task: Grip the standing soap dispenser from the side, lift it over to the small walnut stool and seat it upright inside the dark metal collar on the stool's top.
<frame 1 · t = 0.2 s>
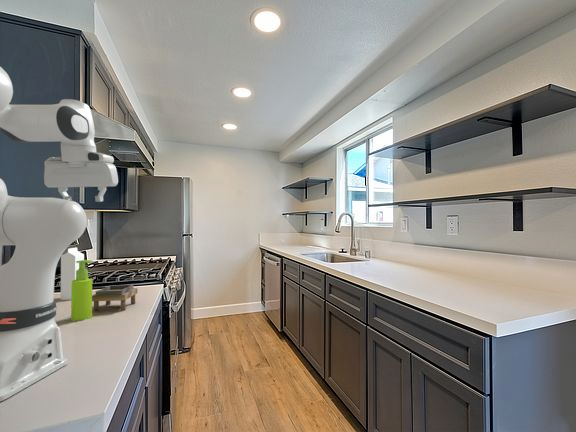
hand: (83, 201, 90), 40 cm above the counter, tool pointing down, fingers open, 8 cm apart
stool: (115, 307, 113), on the counter
soap dispenser: (83, 318, 101), on the counter
milk: (72, 298, 128), on the counter
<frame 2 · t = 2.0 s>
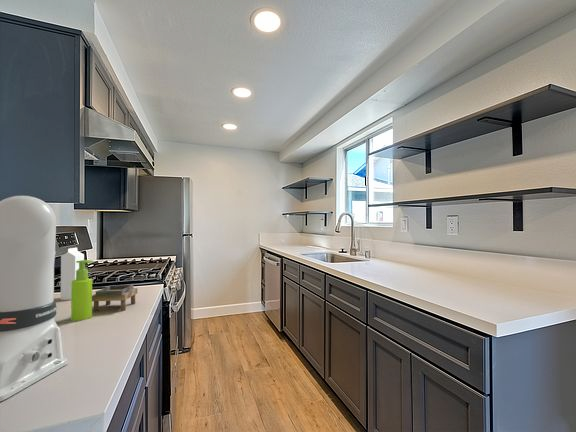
hand: (44, 254, 100), 22 cm above the counter, tool horizontal, fingers open, 8 cm apart
nothing on the counter moved.
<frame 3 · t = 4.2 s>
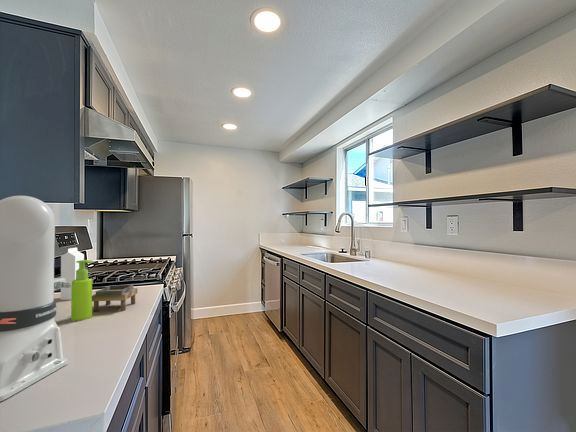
hand: (61, 287, 101), 11 cm above the counter, tool horizontal, fingers open, 8 cm apart
nothing on the counter moved.
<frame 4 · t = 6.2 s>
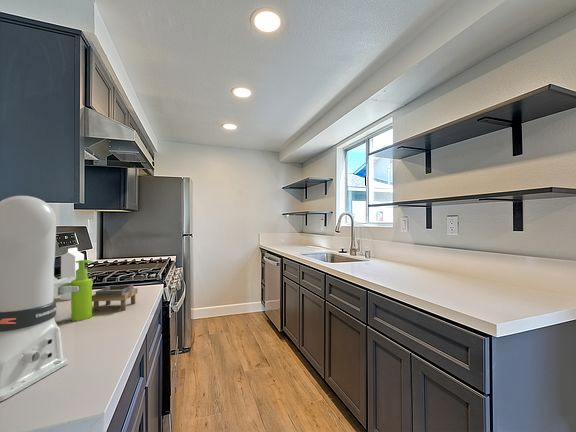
hand: (85, 286, 101), 11 cm above the counter, tool horizontal, fingers closed on soap dispenser, 6 cm apart
soap dispenser: (83, 318, 101), on the counter, touching gripper
everything else where it was.
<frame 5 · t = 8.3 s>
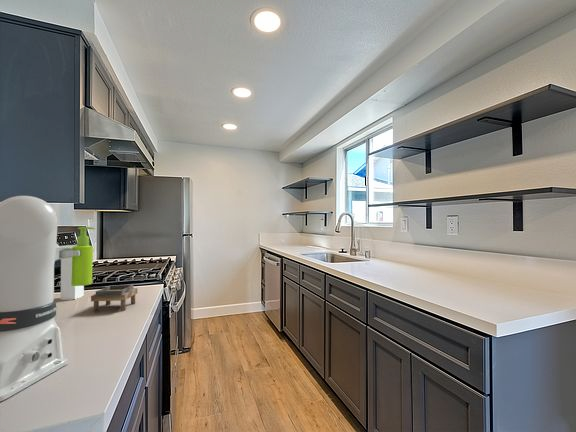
hand: (86, 252, 102), 23 cm above the counter, tool horizontal, fingers closed on soap dispenser, 6 cm apart
soap dispenser: (83, 285, 101), point 11 cm above the counter, touching gripper
everything else where it was.
when the fingers open (18 cm above the counter, at t = 10.8 s): soap dispenser stays where it is, resting on stool.
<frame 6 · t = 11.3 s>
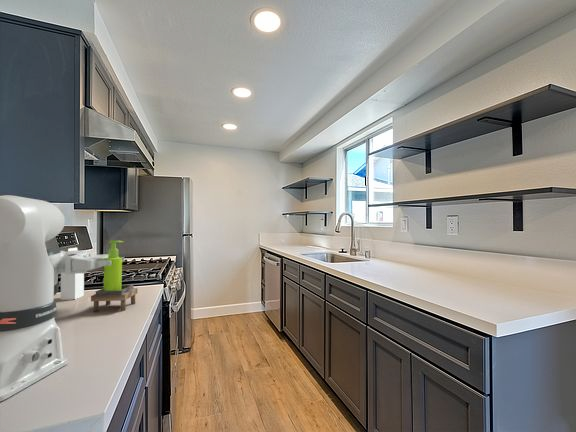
hand: (117, 261, 114), 18 cm above the counter, tool horizontal, fingers open, 8 cm apart
soap dispenser: (113, 293, 112), point 6 cm above the counter, touching gripper, stool
everything else where it was.
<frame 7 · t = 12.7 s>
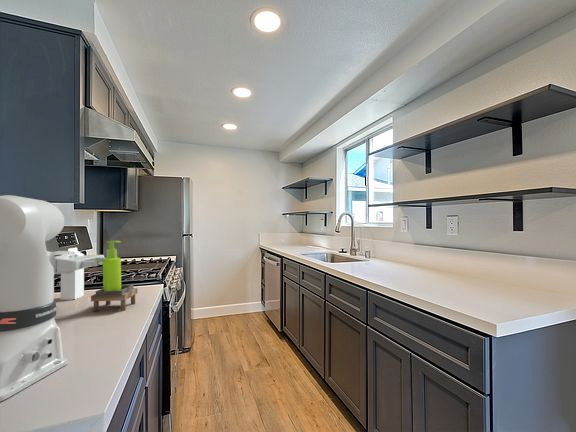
hand: (104, 261, 114), 18 cm above the counter, tool horizontal, fingers open, 8 cm apart
soap dispenser: (113, 293, 112), point 6 cm above the counter, touching stool
everything else where it was.
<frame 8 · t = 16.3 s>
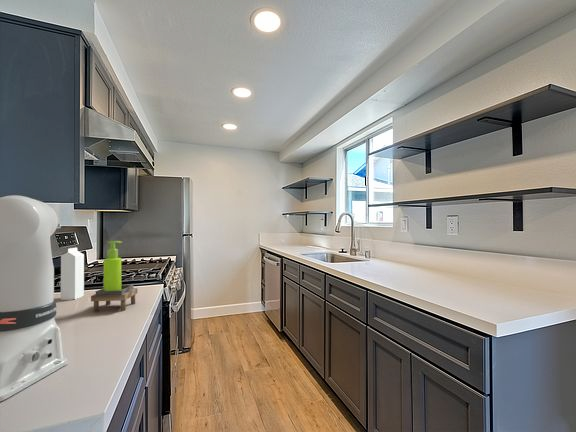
hand: (50, 226, 105), 32 cm above the counter, tool horizontal, fingers open, 8 cm apart
nothing on the counter moved.
at the end: soap dispenser 1.7 cm off-centre on the stool, point 5.8 cm above the stool's base; soap dispenser tilted 0°; the gripper is holding nothing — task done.
